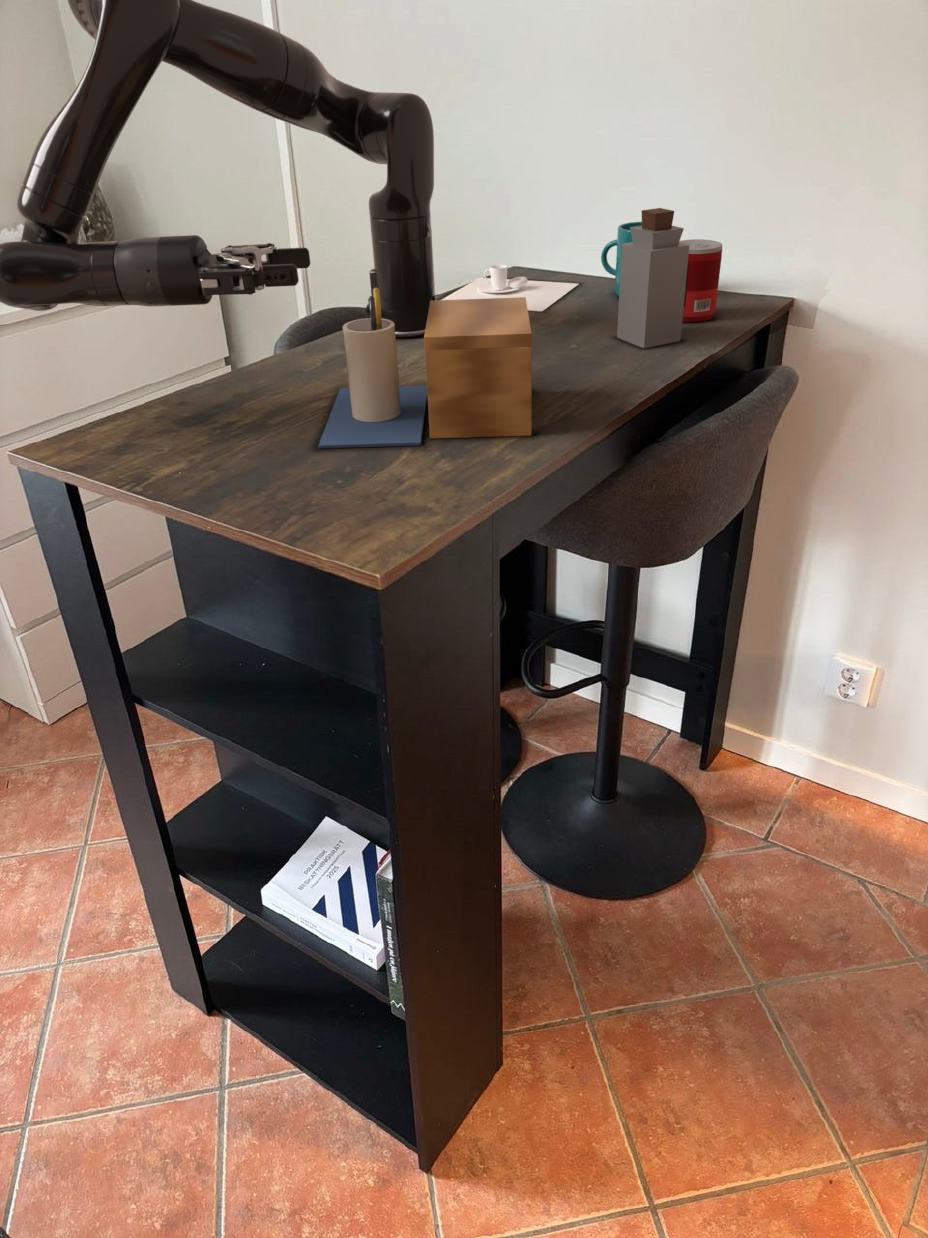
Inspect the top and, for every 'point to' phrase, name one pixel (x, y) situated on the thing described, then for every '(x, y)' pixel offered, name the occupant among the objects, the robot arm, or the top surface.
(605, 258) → the cup
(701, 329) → the top surface
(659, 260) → the perfume bottle
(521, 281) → the teacup and saucer
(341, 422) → the mat
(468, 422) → the wooden shelf box
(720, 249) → the canned food
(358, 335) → the holder
